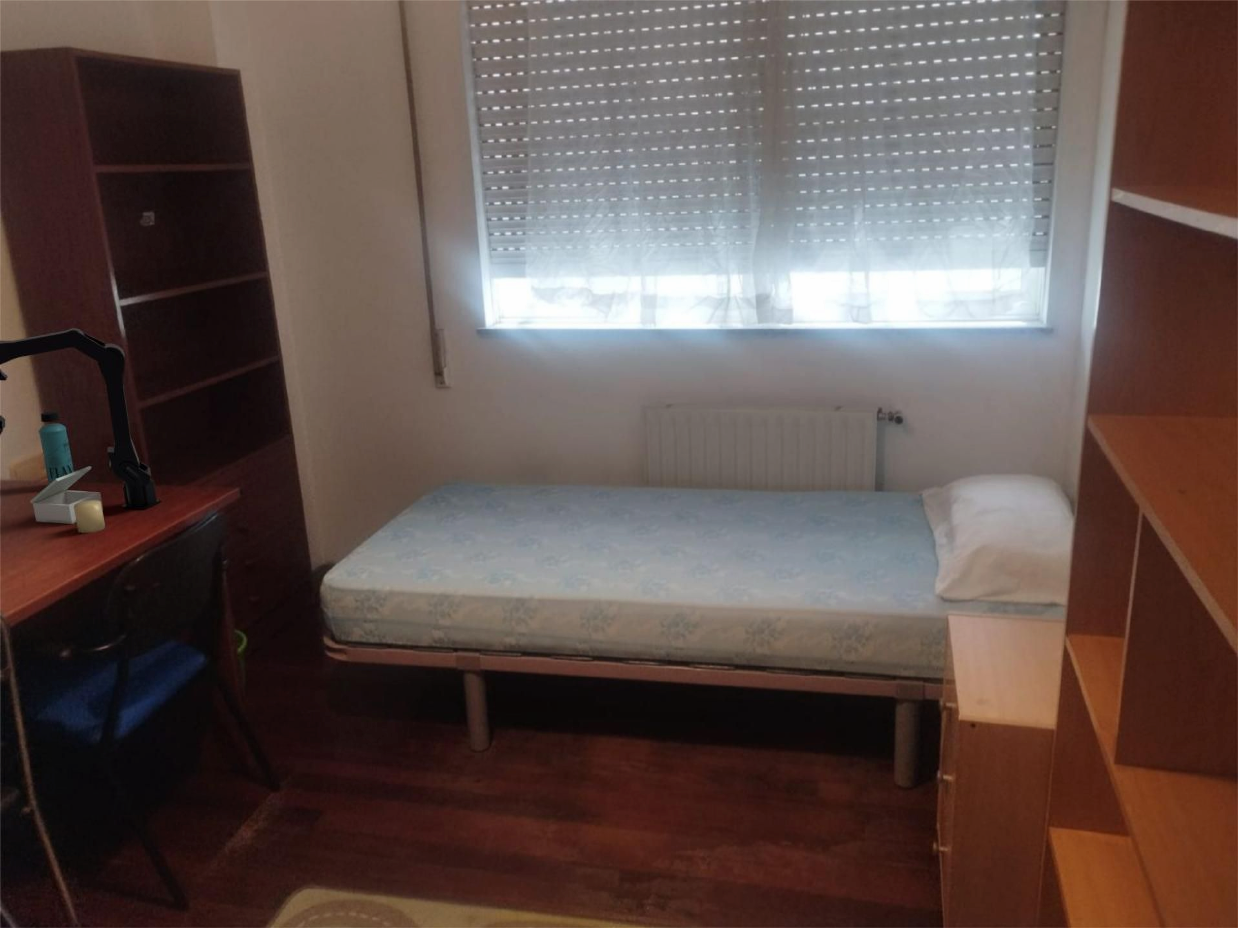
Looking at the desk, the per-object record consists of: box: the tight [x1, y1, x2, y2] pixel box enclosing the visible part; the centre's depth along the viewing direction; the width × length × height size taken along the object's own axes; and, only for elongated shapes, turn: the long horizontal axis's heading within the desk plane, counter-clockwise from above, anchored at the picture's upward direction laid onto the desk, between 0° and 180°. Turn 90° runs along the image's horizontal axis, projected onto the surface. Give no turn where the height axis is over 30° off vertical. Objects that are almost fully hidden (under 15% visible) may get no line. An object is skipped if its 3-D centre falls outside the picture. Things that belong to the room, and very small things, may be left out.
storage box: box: [32, 489, 104, 525], centre depth 229 cm, size 10×10×4 cm
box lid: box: [29, 466, 92, 505], centre depth 228 cm, size 10×11×1 cm
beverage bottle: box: [38, 411, 75, 484], centre depth 250 cm, size 6×7×20 cm
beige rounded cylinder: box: [74, 500, 106, 534], centre depth 220 cm, size 6×6×6 cm
